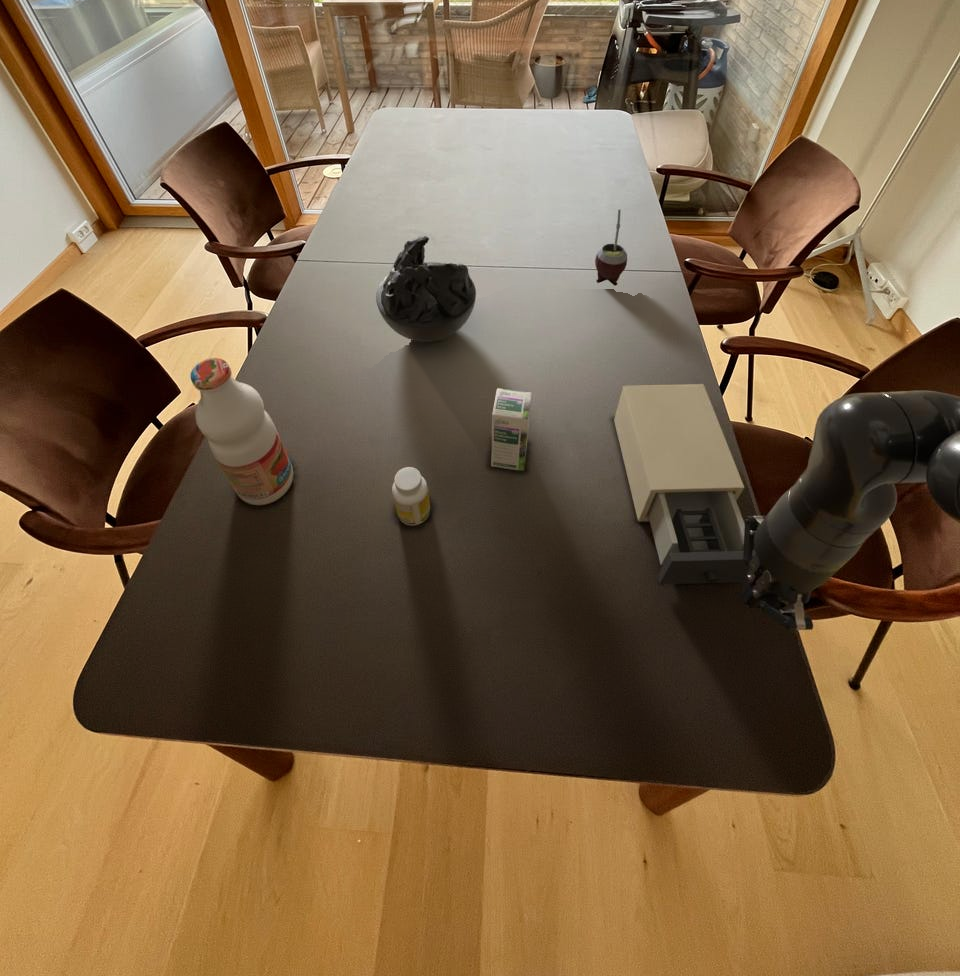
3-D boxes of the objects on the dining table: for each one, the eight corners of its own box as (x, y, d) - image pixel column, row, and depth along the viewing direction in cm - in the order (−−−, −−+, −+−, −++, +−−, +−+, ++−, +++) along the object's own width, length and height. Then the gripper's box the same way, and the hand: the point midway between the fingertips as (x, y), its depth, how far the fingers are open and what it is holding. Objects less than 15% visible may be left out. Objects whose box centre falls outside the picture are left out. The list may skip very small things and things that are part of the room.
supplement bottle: (425, 491, 94) (421, 458, 87) (434, 520, 90) (430, 488, 83) (393, 500, 93) (386, 468, 86) (401, 530, 89) (394, 499, 82)
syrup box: (490, 467, 97) (491, 415, 87) (495, 438, 101) (496, 386, 91) (523, 472, 96) (528, 420, 86) (527, 443, 100) (532, 390, 90)
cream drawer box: (724, 519, 90) (744, 487, 83) (638, 521, 90) (651, 490, 83) (688, 418, 104) (703, 383, 97) (613, 420, 104) (623, 385, 97)
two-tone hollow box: (748, 590, 82) (768, 567, 76) (661, 593, 81) (674, 570, 76) (706, 469, 96) (720, 443, 90) (631, 471, 95) (640, 444, 90)
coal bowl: (453, 374, 112) (449, 302, 99) (364, 346, 117) (349, 275, 104) (490, 310, 125) (491, 239, 112) (408, 288, 130) (400, 218, 117)
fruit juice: (231, 471, 97) (166, 359, 77) (286, 449, 100) (238, 336, 80) (243, 516, 91) (176, 408, 71) (301, 491, 94) (252, 381, 74)
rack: (702, 520, 88) (710, 507, 85) (717, 565, 83) (726, 553, 80) (670, 521, 88) (677, 509, 85) (684, 566, 83) (691, 555, 80)
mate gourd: (605, 291, 129) (616, 236, 119) (584, 272, 134) (592, 218, 124) (630, 280, 132) (643, 226, 121) (608, 262, 137) (619, 208, 126)
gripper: (881, 602, 51) (803, 659, 64) (816, 473, 61) (759, 545, 73) (799, 604, 51) (737, 661, 64) (746, 474, 60) (701, 546, 73)
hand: (749, 599), depth 68 cm, fingers closed
